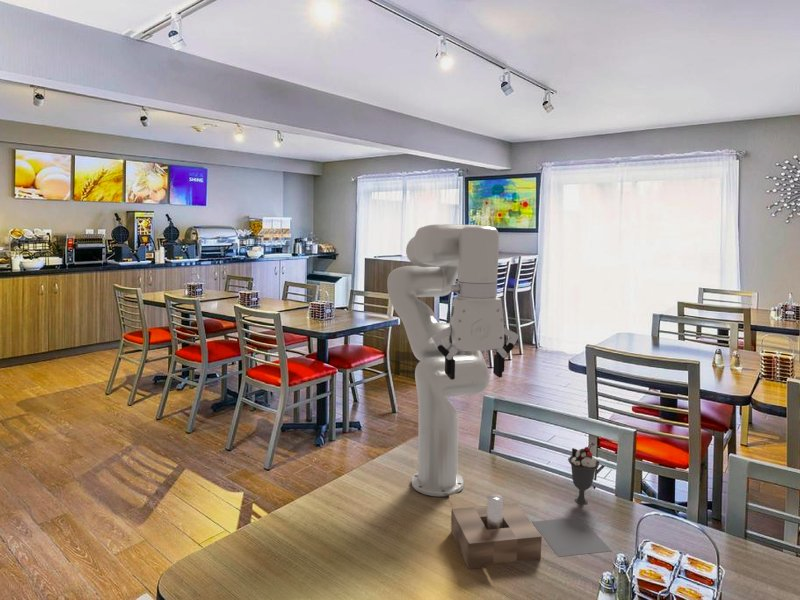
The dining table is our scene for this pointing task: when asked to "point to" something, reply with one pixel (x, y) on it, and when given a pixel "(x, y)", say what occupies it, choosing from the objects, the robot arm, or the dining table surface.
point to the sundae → (582, 471)
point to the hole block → (494, 536)
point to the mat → (570, 536)
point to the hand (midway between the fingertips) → (474, 376)
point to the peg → (494, 512)
